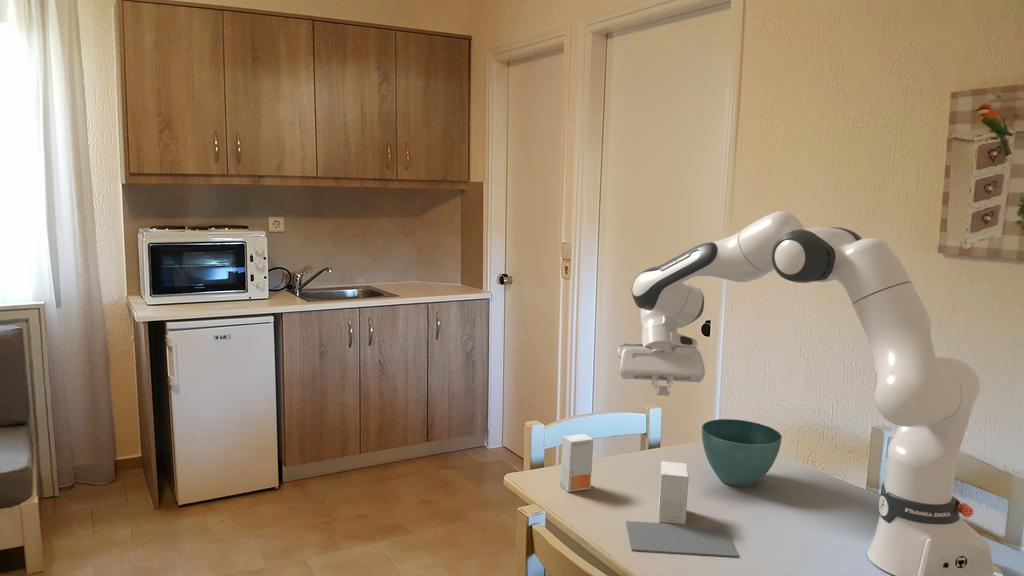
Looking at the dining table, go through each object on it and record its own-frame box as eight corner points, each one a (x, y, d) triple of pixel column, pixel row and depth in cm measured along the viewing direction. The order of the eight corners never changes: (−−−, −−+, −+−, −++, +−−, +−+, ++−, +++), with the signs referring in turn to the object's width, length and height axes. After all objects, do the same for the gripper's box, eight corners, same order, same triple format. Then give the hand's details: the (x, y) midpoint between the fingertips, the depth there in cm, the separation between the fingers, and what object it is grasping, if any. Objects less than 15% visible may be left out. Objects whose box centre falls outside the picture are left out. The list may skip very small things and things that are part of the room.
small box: (685, 525, 151) (689, 477, 149) (657, 522, 152) (661, 474, 150) (684, 509, 159) (687, 462, 157) (658, 506, 160) (661, 460, 158)
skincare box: (568, 493, 165) (570, 441, 163) (559, 485, 169) (561, 435, 167) (591, 489, 168) (594, 439, 166) (582, 482, 171) (584, 433, 170)
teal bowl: (792, 483, 175) (796, 434, 173) (749, 502, 163) (754, 449, 162) (726, 460, 189) (730, 414, 187) (683, 476, 177) (686, 427, 175)
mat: (724, 528, 150) (724, 526, 150) (738, 557, 138) (738, 555, 138) (625, 522, 151) (626, 521, 151) (631, 550, 140) (631, 549, 139)
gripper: (619, 336, 180) (620, 385, 172) (703, 340, 179) (708, 389, 171) (616, 350, 185) (617, 398, 177) (698, 353, 184) (703, 402, 176)
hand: (663, 394), depth 174 cm, fingers closed
